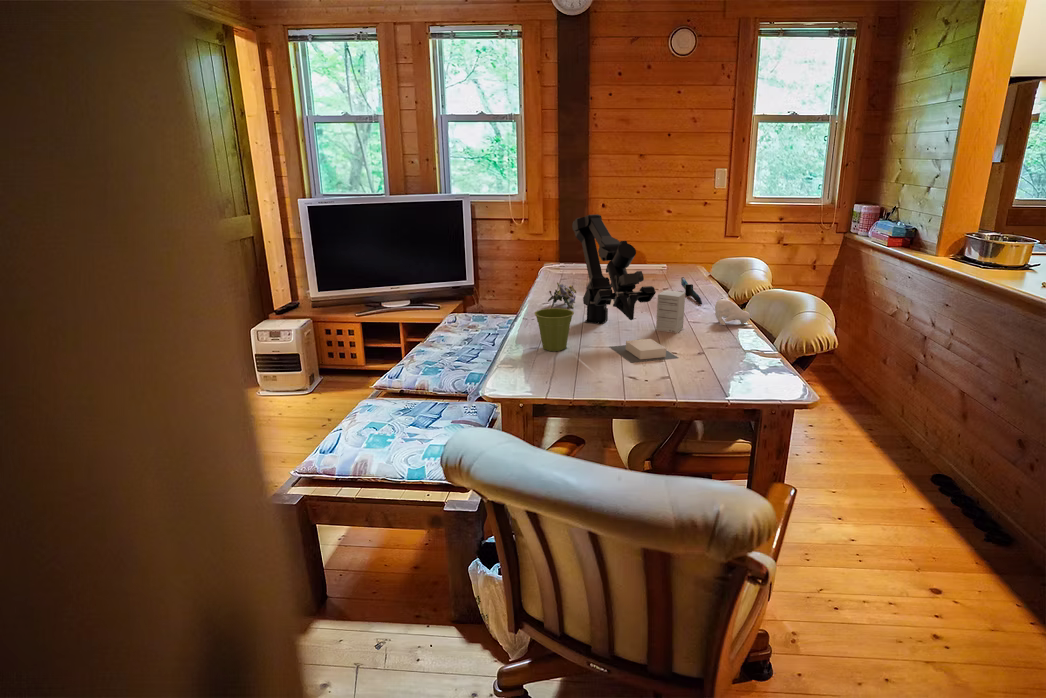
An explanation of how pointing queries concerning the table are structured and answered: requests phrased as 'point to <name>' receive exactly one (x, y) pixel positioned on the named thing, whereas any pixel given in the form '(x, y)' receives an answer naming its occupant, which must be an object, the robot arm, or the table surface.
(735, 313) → the white animal figurine
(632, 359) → the mat
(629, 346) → the white and orange box
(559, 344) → the plant pot
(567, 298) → the passion flower
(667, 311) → the supplement box
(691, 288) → the knife
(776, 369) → the table surface
